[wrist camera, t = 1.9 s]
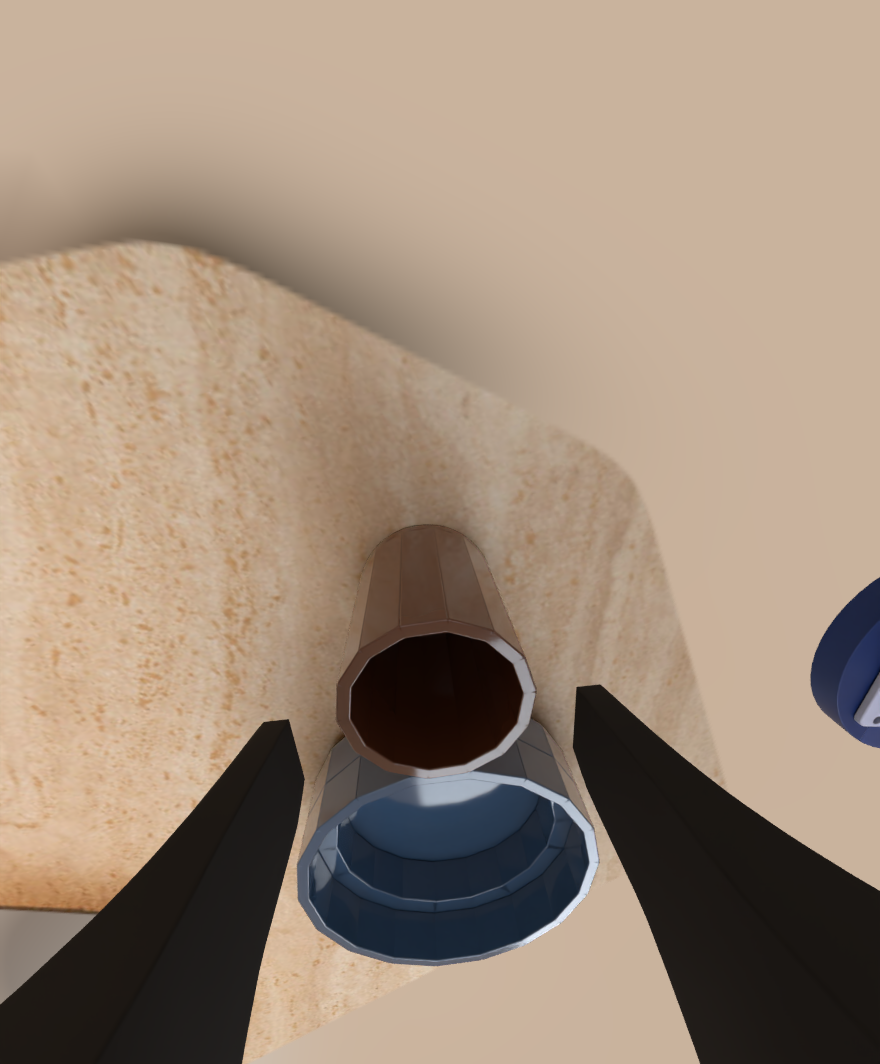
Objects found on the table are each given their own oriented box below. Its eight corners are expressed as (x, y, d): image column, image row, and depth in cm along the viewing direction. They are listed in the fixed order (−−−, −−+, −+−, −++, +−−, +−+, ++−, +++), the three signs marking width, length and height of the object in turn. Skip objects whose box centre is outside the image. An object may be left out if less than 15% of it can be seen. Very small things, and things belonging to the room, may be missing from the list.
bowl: (587, 690, 21) (633, 772, 16) (537, 864, 25) (563, 962, 21) (318, 681, 19) (293, 768, 15) (318, 866, 24) (299, 972, 20)
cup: (497, 527, 17) (552, 624, 11) (479, 640, 19) (516, 780, 13) (364, 518, 17) (337, 613, 10) (359, 635, 19) (334, 778, 12)
